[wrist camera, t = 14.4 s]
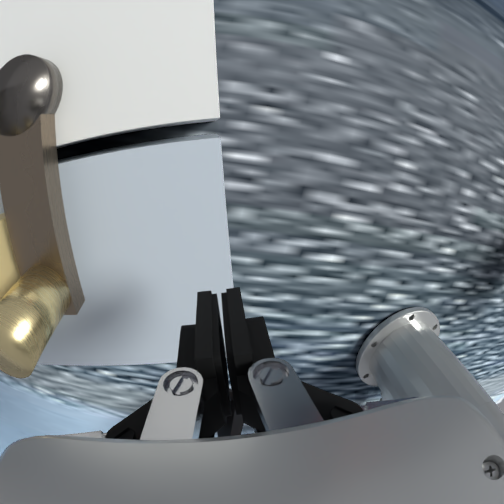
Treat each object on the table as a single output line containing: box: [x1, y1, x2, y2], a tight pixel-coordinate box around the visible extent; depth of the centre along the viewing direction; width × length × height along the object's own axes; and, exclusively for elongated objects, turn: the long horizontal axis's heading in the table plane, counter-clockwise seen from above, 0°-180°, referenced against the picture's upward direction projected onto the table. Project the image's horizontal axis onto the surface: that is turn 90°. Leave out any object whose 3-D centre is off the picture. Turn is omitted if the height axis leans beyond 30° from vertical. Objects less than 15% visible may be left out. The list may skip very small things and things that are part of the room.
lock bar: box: [0, 54, 85, 378], centre depth 10 cm, size 14×4×6 cm, turn 0°
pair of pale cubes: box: [0, 0, 233, 365], centre depth 15 cm, size 30×19×14 cm, turn 3°
